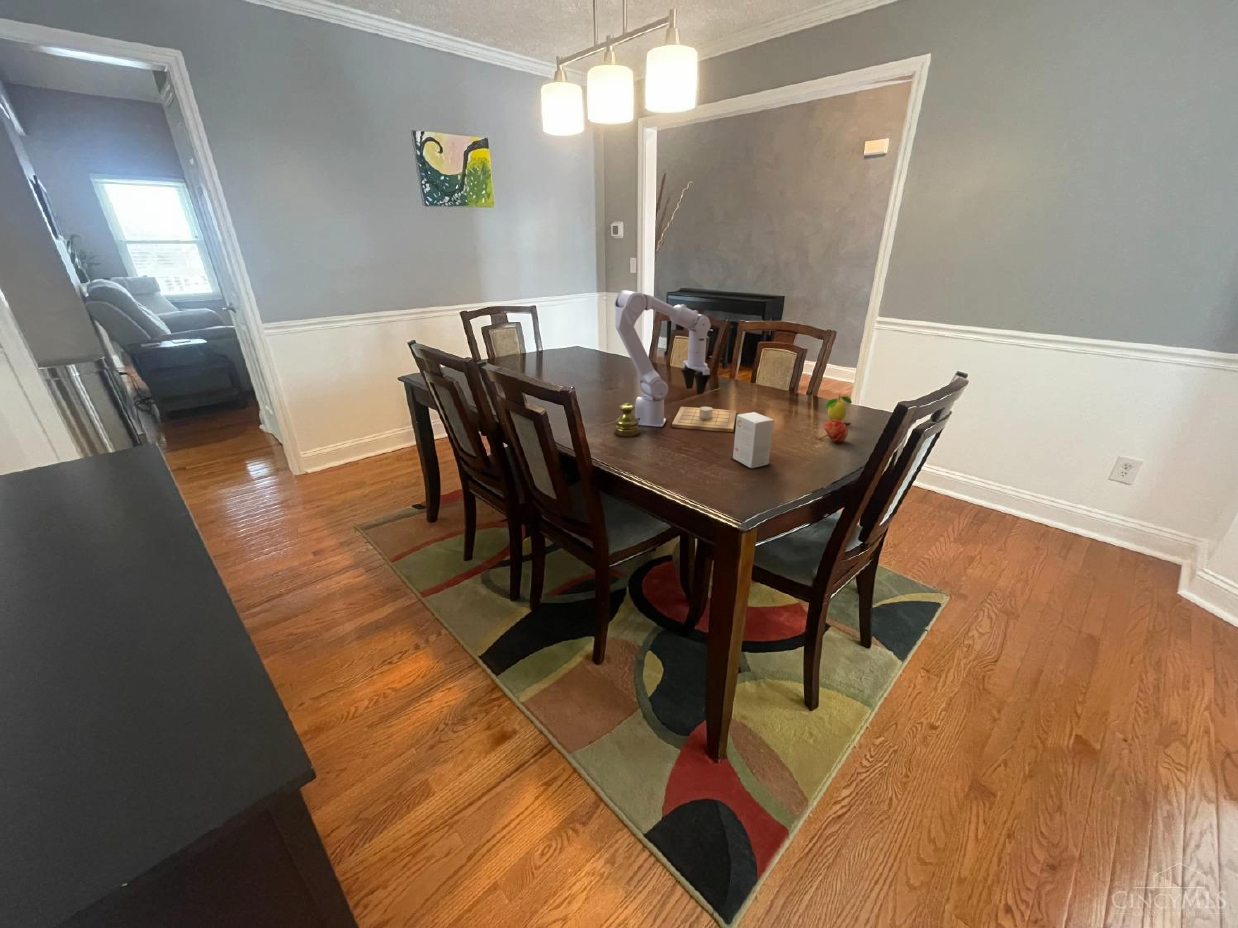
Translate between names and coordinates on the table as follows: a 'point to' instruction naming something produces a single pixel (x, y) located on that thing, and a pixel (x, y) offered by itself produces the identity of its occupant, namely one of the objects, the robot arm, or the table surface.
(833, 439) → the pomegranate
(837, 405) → the yellow pear
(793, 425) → the table surface
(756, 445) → the small box
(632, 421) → the gold chess pawn
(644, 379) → the robot arm
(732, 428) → the board
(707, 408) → the white short cylinder
